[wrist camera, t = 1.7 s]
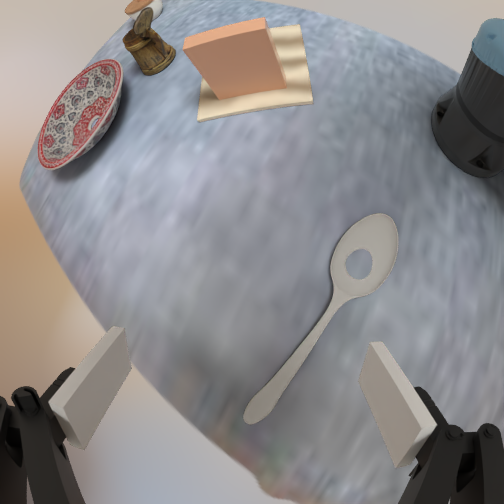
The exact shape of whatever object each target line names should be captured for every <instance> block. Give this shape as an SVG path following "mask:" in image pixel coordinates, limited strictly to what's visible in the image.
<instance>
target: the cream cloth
mask: <svg viewBox="0 0 504 504" xmlns="http://www.w3.org/2000/svg"><path fill="white" fill-rule="evenodd" d="M270 32H271V35H272V37H273V40H274V43H275V46H276V49H277V52H278V54H279V57H280V60H281V63H282V66H283V69H284V72H285V75H286V84H287V88H284V89H277V90H270V91H264V92H258V93H252V94H247V95H241V96H236V97H231V98H227V99H222V100H219V99H218V98H217V96H216V95H215V93H214V92H213V90H212V89H211V88H210V86H209V85H208V83H207V82H206V81H205V79H204V78H203V77H202V83H201V91H200V99H199V108H198V117H197V120H198V122H203V121H207V120H212V119H217V118H221V117H226V116H232V115H237V114H242V113H248V112H254V111H260V110H267V109H274V108H281V107H289V106H298V105H308V104H313V97H312V90H311V84H310V77H309V71H308V65H307V60H306V54H305V48H304V43H303V38H302V33H301V28H300V24H298V25H290V26H283V27H276V28H270Z"/></svg>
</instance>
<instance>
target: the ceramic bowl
mask: <svg viewBox="0 0 504 504" xmlns="http://www.w3.org/2000/svg"><path fill="white" fill-rule="evenodd" d="M122 81H123V68H122V66H121V64H120V63H119V62H118V61H117V60H114V59H105V60H101V61H99V62H96V63H94V64H92V65H91V66H89V67H88V68H86V69H85V70H83V71H82V72H81V73H80V74H79V75H78V76H76V77H75V78H74V79H73V80H72V81H71V82H70V83H69V84H68V85H67V87H66V88H65V89H64V90H63V91H62V93H61V94H60V95H59V97H58V98H57V100H56V101H55V103H54V104H53V106H52V108H51V110H50V112H49V114H48V115H47V117H46V120H45V122H44V124H43V127H42V130H41V133H40V137H39V142H38V159H39V162H40V164H41V165H42V167H44V168H45V169H47V170H55V169H58V168H61V167H63V166H64V165H66V164H67V163H69V162H70V161H72V160H75V159H77V158H79V157H80V156H82V155H84V154H85V153H86V152H88V151H89V150H90V149H91V148H92V147H93V146H94V145H96V143H97V142H98V141H99V140H100V139H101V138H102V137H103V135H104V134H105V133H106V131H107V130H108V128H109V127H110V125H111V123H112V121H113V119H114V117H115V115H116V112H117V110H118V107H119V103H120V98H121V85H122ZM97 118H99V119H98V121H97V122H96V124H95V125H94V127H93V128H91V126H92V123H93V122H94V121H95V120H96V119H97Z"/></svg>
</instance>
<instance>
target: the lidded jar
mask: <svg viewBox="0 0 504 504" xmlns="http://www.w3.org/2000/svg"><path fill="white" fill-rule="evenodd" d="M147 7H151V8H152V9H153V19H152V20H154V19H156V18H157V17H158V16H159V15H160V14H161V12H162V11H161V10H162V7H163V4H162V0H133V1H132V2H131V3H130V4H129V5H128V6H127V7H126V9H125V13H126V14H128V15H129V16H130V17H131V18H132V19H133V20H135V21H136V19H137V17H138V16H139V14H140V12H141V11H142V10H143V9H144V8H147Z"/></svg>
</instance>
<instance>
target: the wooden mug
mask: <svg viewBox="0 0 504 504" xmlns="http://www.w3.org/2000/svg"><path fill="white" fill-rule="evenodd" d="M152 19H153V9H152V8H151V7H147V8H144V9H143V10H142V11H141V12H140V14H139V16H138V17H137V19H136V21H135V23H134V26H133V29H132V30H130V31H129V32H128V33H127V34H126V35H125V36H124V38H123V43H124V44H125V48H126V49H127V50H128V51H130V53H131V54H132V55H133V57H134V58H135V60H136V61H137V63H138V64H139V66H140V68H141V70H142V72H143V73H144V74H145V75H153V74H156V73H159V72H160V71H162V70H163V69H165V68H166V67H167V66H168V65H169V64H170V63H171V62H172V60H173V59H174V57H175V53H176V52H175V49H174V48H173V47H172V46H170V45H168V44H167V43H166V42H164V41H163V40H162V39H161V37H160V36H159V35H158V34H157V33H156V32H155V31H154V30H153V29H151V22H152Z"/></svg>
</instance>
